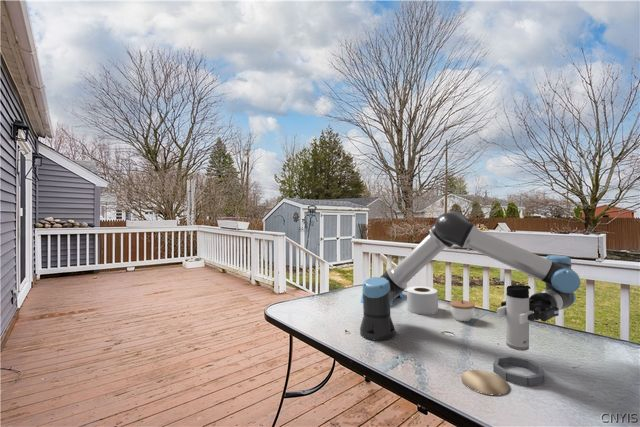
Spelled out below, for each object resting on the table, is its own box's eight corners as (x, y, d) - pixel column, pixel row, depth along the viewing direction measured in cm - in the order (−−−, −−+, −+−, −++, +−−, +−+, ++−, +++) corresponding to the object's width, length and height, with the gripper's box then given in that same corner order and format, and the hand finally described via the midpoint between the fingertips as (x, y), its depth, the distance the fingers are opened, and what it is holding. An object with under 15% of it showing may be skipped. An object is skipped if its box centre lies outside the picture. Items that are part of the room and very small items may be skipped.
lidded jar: (446, 316, 155) (445, 297, 155) (466, 314, 156) (466, 296, 156) (457, 324, 144) (457, 304, 144) (479, 322, 145) (479, 302, 145)
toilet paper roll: (440, 307, 168) (440, 287, 168) (434, 316, 155) (433, 295, 155) (411, 303, 177) (411, 284, 176) (403, 311, 163) (402, 291, 163)
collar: (516, 388, 94) (516, 380, 94) (484, 365, 107) (484, 358, 107) (555, 382, 96) (554, 374, 96) (519, 360, 110) (519, 353, 109)
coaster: (480, 398, 89) (480, 396, 89) (452, 374, 102) (452, 372, 102) (519, 391, 92) (519, 389, 92) (487, 369, 105) (487, 367, 105)
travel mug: (531, 352, 97) (532, 289, 96) (507, 348, 100) (507, 286, 99) (528, 344, 103) (529, 284, 102) (505, 340, 106) (505, 282, 105)
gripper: (578, 321, 102) (543, 338, 90) (516, 306, 119) (480, 318, 107) (578, 299, 102) (543, 312, 90) (516, 286, 118) (479, 296, 107)
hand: (509, 316), depth 98 cm, fingers closed on travel mug, 6 cm apart
